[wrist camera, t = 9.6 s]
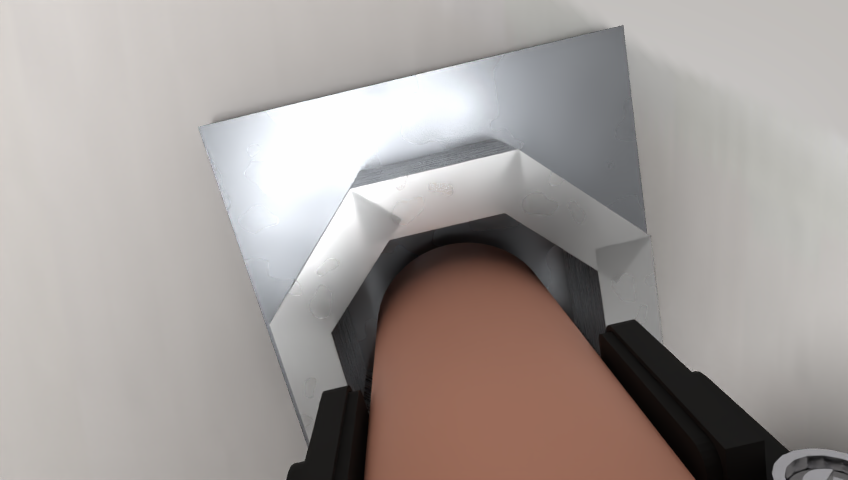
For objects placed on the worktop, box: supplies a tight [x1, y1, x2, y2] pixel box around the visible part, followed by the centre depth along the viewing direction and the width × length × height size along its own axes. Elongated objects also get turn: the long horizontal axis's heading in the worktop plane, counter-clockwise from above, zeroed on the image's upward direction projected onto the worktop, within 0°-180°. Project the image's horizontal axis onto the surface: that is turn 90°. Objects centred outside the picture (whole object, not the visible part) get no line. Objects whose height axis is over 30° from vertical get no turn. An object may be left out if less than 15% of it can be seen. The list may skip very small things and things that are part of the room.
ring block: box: [198, 25, 663, 447], centre depth 15 cm, size 14×12×4 cm
